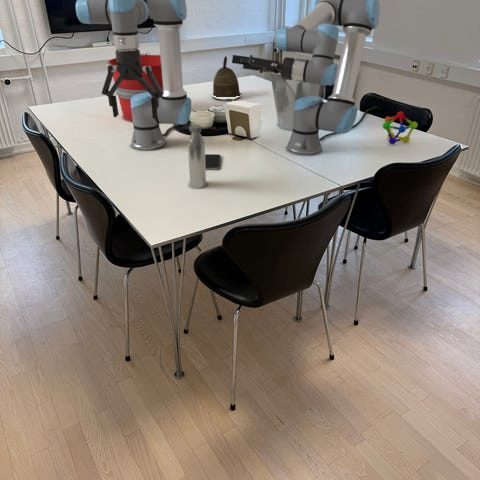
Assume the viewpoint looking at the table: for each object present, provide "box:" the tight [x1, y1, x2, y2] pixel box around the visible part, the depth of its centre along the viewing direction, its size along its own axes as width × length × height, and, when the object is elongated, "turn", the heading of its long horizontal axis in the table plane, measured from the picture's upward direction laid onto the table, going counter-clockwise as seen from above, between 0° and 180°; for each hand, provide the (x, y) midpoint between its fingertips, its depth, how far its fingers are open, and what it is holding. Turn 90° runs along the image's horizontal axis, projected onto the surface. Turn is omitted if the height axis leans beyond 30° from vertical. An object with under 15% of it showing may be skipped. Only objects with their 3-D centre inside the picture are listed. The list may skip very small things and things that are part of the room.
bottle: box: [187, 132, 207, 189], centre depth 164 cm, size 6×6×22 cm
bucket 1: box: [105, 52, 163, 123], centre depth 239 cm, size 35×35×30 cm
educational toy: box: [382, 110, 418, 145], centre depth 207 cm, size 16×13×15 cm
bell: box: [212, 56, 242, 97], centre depth 278 cm, size 19×26×20 cm
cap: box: [188, 124, 203, 134], centre depth 158 cm, size 4×4×2 cm
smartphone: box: [205, 153, 221, 170], centre depth 189 cm, size 7×1×15 cm
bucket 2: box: [269, 72, 326, 131], centre depth 226 cm, size 30×30×28 cm
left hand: (135, 116), depth 150 cm, fingers open, 13 cm apart
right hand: (238, 62), depth 165 cm, fingers open, 13 cm apart
